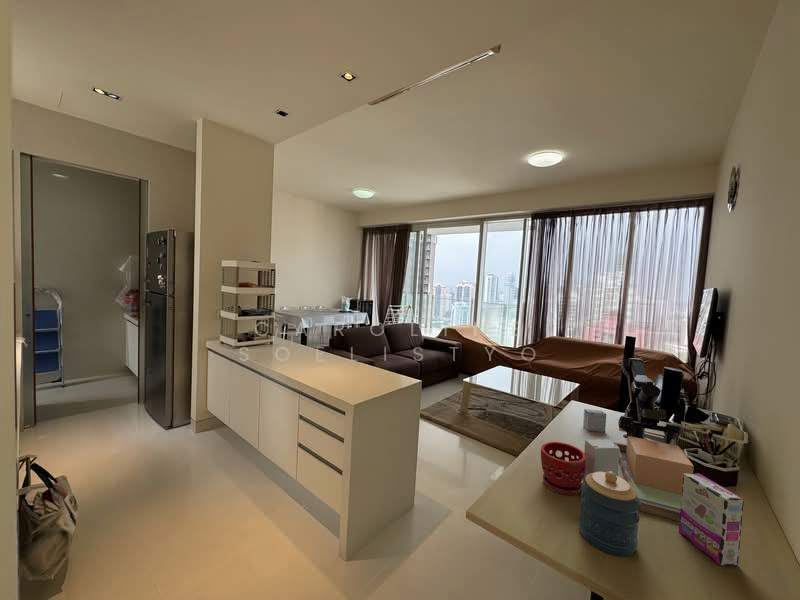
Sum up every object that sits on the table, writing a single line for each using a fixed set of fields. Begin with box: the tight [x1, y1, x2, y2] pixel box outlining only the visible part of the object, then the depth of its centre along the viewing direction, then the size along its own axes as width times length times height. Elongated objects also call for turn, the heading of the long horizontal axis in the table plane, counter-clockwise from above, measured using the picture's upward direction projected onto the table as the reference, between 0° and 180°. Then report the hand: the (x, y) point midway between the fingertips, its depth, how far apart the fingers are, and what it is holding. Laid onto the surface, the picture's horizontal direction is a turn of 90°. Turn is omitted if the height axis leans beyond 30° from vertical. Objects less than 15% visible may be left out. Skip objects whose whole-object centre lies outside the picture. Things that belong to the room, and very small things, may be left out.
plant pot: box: [540, 441, 586, 496], centre depth 107 cm, size 13×13×12 cm
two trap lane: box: [613, 442, 682, 522], centre depth 112 cm, size 42×20×3 cm, turn 154°
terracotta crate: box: [625, 436, 694, 494], centre depth 114 cm, size 15×15×10 cm
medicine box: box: [582, 408, 607, 433], centre depth 152 cm, size 8×4×9 cm, turn 84°
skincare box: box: [582, 439, 620, 483], centre depth 108 cm, size 8×6×15 cm
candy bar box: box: [678, 472, 745, 567], centre depth 83 cm, size 11×5×16 cm, turn 5°
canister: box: [578, 471, 641, 558], centre depth 85 cm, size 13×13×18 cm
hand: (651, 448), depth 121 cm, fingers open, 9 cm apart
